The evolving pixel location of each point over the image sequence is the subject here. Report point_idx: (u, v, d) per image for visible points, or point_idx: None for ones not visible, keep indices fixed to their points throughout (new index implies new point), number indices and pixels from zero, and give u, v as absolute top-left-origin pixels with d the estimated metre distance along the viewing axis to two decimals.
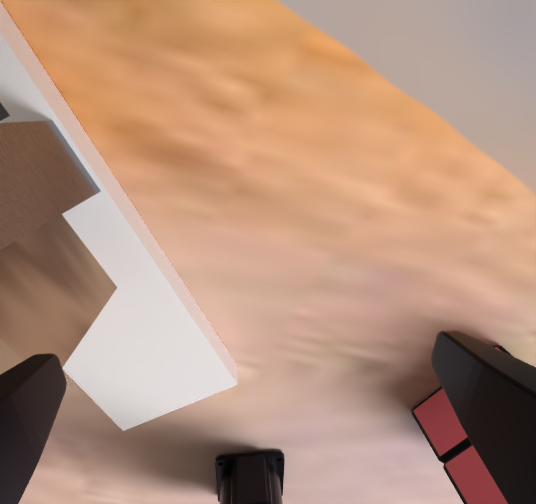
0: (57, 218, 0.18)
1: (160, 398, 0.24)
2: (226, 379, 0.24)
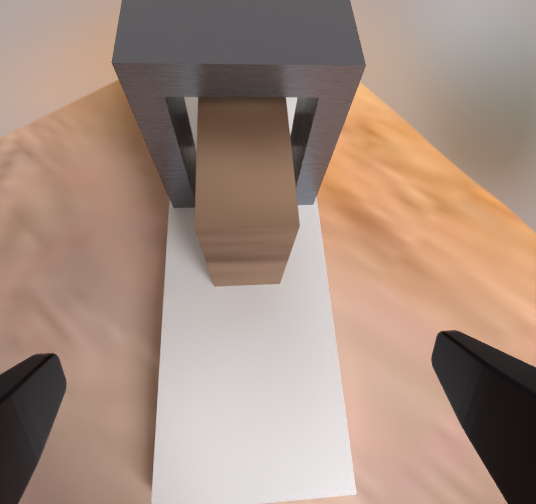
0: None
1: (241, 467, 0.16)
2: (344, 474, 0.16)
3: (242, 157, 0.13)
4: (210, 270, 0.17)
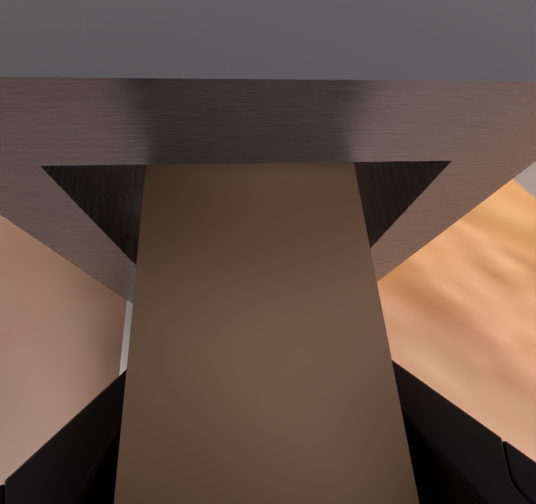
0: None
1: None
2: None
3: (254, 320, 0.05)
4: None
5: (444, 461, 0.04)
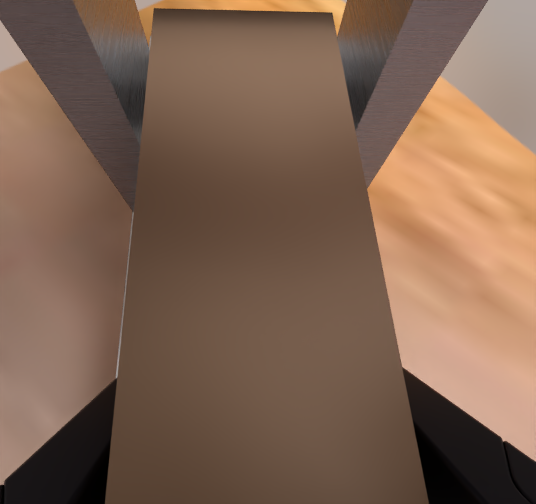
0: None
1: None
2: None
3: (254, 310, 0.05)
4: None
5: (444, 461, 0.04)
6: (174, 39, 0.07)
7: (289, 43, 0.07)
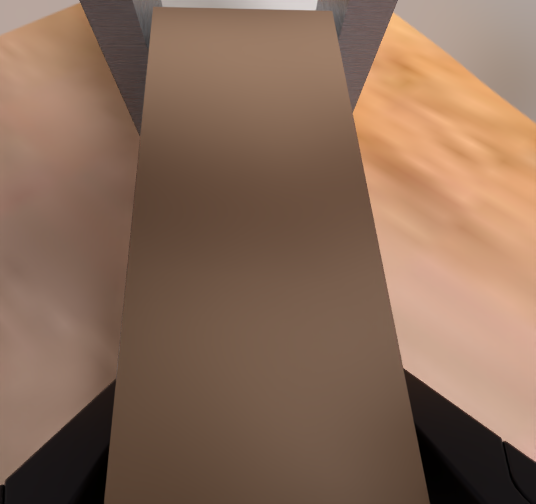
0: None
1: None
2: None
3: (254, 309, 0.05)
4: None
5: (444, 461, 0.04)
6: (174, 38, 0.07)
7: (289, 41, 0.07)
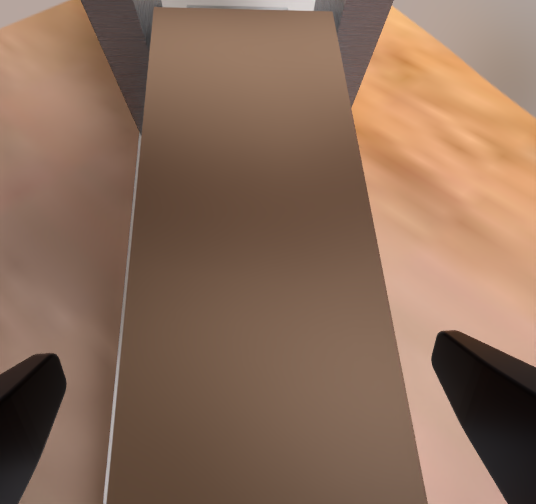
0: None
1: None
2: None
3: (254, 309, 0.05)
4: None
5: None
6: (175, 38, 0.07)
7: (289, 42, 0.07)
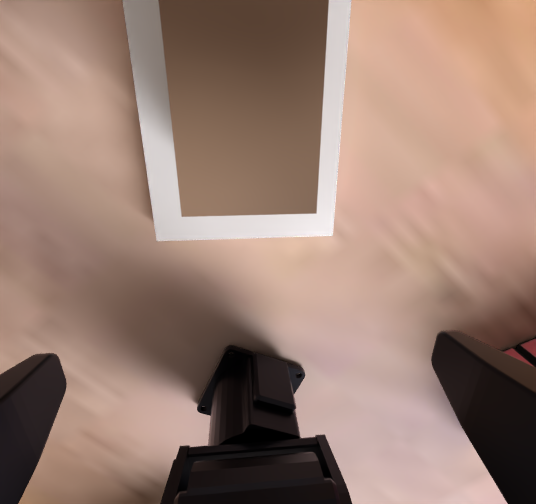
0: None
1: None
2: (325, 221, 0.18)
3: (243, 93, 0.08)
4: None
5: None
6: None
7: None
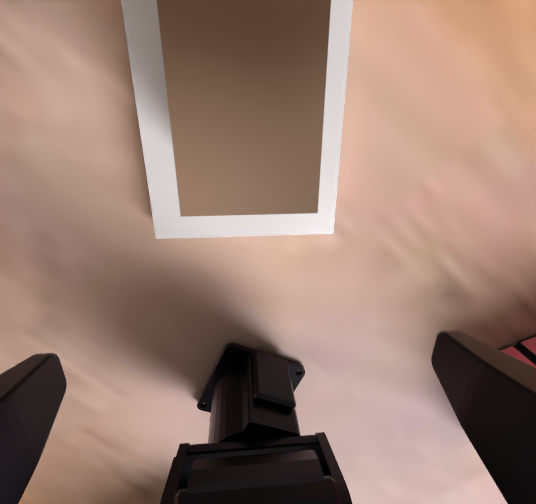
0: None
1: None
2: (326, 219, 0.18)
3: (243, 90, 0.08)
4: None
5: None
6: None
7: None
